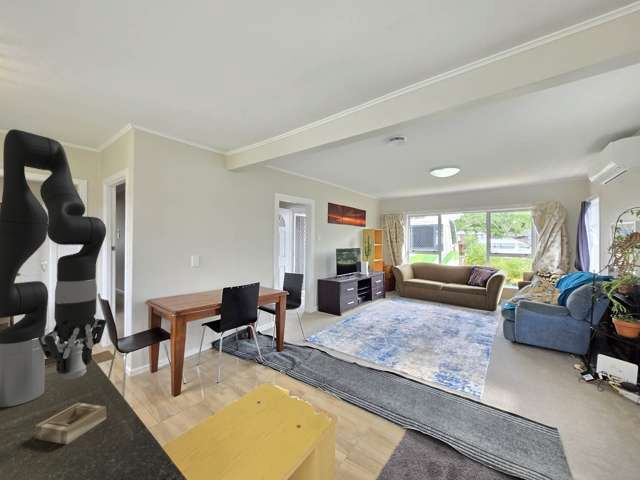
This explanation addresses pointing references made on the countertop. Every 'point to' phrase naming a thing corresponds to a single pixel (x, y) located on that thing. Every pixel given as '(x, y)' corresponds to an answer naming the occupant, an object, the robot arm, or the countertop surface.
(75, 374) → the rook chess piece
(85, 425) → the socket block
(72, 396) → the countertop surface
